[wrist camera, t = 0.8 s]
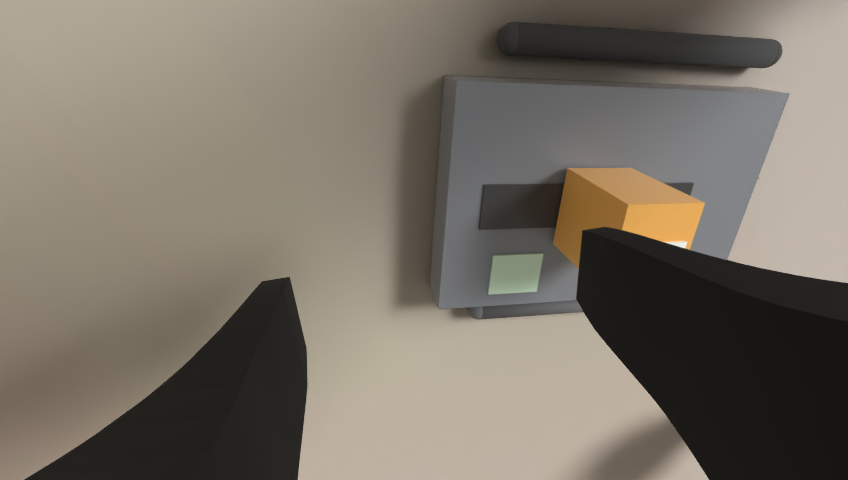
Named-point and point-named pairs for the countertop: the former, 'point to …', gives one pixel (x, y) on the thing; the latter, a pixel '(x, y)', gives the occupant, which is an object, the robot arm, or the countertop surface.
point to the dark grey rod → (636, 45)
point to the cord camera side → (524, 309)
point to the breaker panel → (578, 148)
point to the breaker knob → (623, 208)
